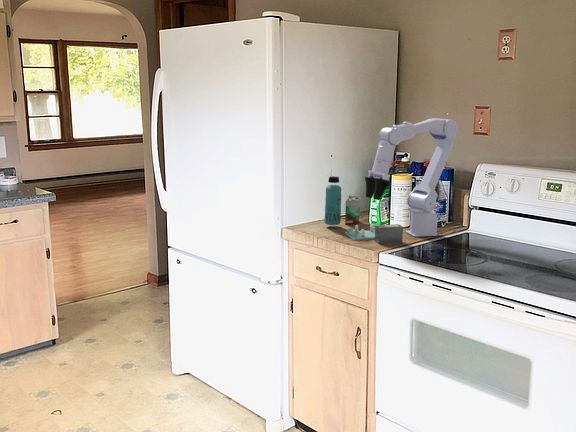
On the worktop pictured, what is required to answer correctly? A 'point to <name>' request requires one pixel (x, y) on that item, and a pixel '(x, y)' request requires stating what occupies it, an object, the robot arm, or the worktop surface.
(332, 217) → the beverage bottle
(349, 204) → the food container
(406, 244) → the worktop surface
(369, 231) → the tray
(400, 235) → the dark grey block
